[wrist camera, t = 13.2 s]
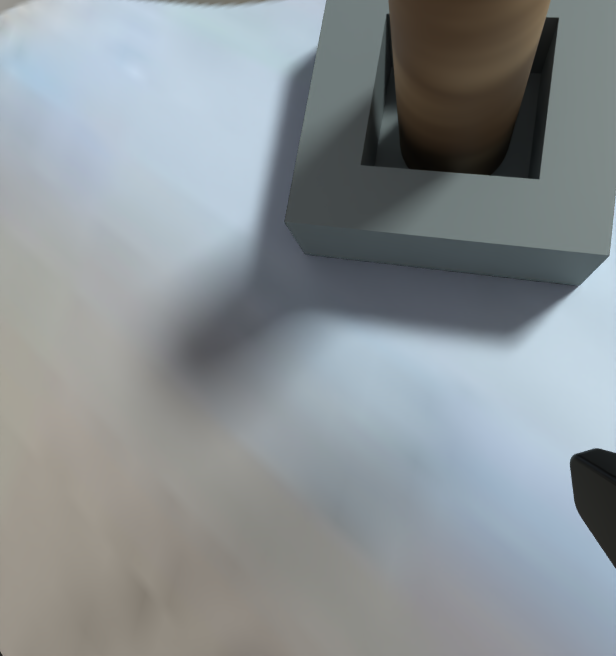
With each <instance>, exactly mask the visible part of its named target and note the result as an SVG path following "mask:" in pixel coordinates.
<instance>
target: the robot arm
mask: <svg viewBox="0 0 616 656" xmlns="http://www.w3.org/2000/svg"><path fill="white" fill-rule="evenodd" d="M570 470H571V478H572V486H573V494H574V501H575V505H576V508H577V511H578V513H579V515H580V516H581V518H582V519H583V521H584V522H585V524H586V525H587V527H588V528H589V530H590V531H591V533H592V534H593V536H594V537H595V539H596V540H597V542H598V543H599V545H600V546H601V548H602V549H603V551H604V552H605V553H606V555H607V556H608V558H609V559H610V561H611V562H612V564H613V565H614V567H615V568H616V453H614V452H610V451H606V450H603V449H598V448H595V449H591V450H588V451H584V452H581V453H577V454H574V455H573V456H572V457H571V460H570ZM0 656H2V654H1V652H0Z"/></svg>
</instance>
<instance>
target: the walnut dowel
mask: <svg viewBox="0 0 616 656" xmlns="http://www.w3.org/2000/svg"><path fill="white" fill-rule="evenodd" d="M550 1H551V0H388V3H389V15H390V27H391V40H392V52H393V64H394V77H395V89H396V101H397V114H398V126H399V138H400V149H401V154H402V157H403V160H404V162H405V164H406V165H407V167H408V168H409V169H414V170H427V171H439V172H452V173H464V174H477V175H491V174H493V173H494V172H495V171H496V170H497V169H498V167H499V166H500V165H501V163H502V162H503V160H504V158H505V156H506V153H507V151H508V148H509V144H510V141H511V137H512V134H513V130H514V127H515V123H516V120H517V116H518V113H519V109H520V106H521V102H522V99H523V95H524V92H525V88H526V85H527V81H528V78H529V74H530V71H531V68H532V64H533V61H534V57H535V54H536V50H537V47H538V43H539V40H540V36H541V33H542V29H543V26H544V22H545V19H546V15H547V12H548V8H549V5H550Z"/></svg>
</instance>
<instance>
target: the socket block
mask: <svg viewBox="0 0 616 656" xmlns="http://www.w3.org/2000/svg"><path fill="white" fill-rule="evenodd" d="M615 196H616V0H551V1H550V5H549V8H548V12H547V15H546V19H545V22H544V26H543V29H542V33H541V36H540V40H539V43H538V47H537V50H536V54H535V57H534V61H533V64H532V68H531V71H530V74H529V78H528V81H527V85H526V88H525V92H524V95H523V99H522V102H521V106H520V109H519V113H518V116H517V120H516V123H515V127H514V130H513V134H512V137H511V141H510V144H509V148H508V151H507V153H506V156H505V158H504V160H503V162H502V163H501V165H500V166H499V167H498V169H497V170H496V171H495V172H494V173H493V174H491V175H477V174H464V173H452V172H439V171H427V170H414V169H409V168H408V167H407V165H406V164H405V162H404V160H403V157H402V154H401V149H400V138H399V126H398V114H397V101H396V89H395V77H394V64H393V52H392V40H391V27H390V15H389V3H388V0H326V6H325V11H324V16H323V21H322V27H321V32H320V37H319V42H318V48H317V53H316V58H315V63H314V69H313V74H312V79H311V84H310V90H309V95H308V100H307V105H306V111H305V116H304V121H303V126H302V132H301V137H300V142H299V147H298V153H297V158H296V163H295V168H294V174H293V179H292V184H291V189H290V195H289V200H288V205H287V210H286V215H285V221H284V222H285V224H286V225H287V227H288V228H289V230H290V232H291V233H292V235H293V236H294V238H295V239H296V241H297V243H298V244H299V246H300V247H301V249H302V250H303V252H304V254H307V255H316V256H324V257H333V258H342V259H351V260H359V261H368V262H377V263H385V264H394V265H403V266H411V267H420V268H429V269H437V270H446V271H455V272H463V273H472V274H481V275H489V276H498V277H507V278H515V279H524V280H533V281H542V282H550V283H559V284H568V285H576V286H580V285H581V284H582V283H583V282H584V281H585V280H586V279H587V278H588V277H589V276H590V275H591V274H592V273H593V272H594V271H595V270H596V269H597V268H598V267H599V266H600V265H601V264H602V263H603V262H604V261H605V260H606V259H607V258H608V257H609V256H610V246H611V236H612V226H613V216H614V206H615Z"/></svg>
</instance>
